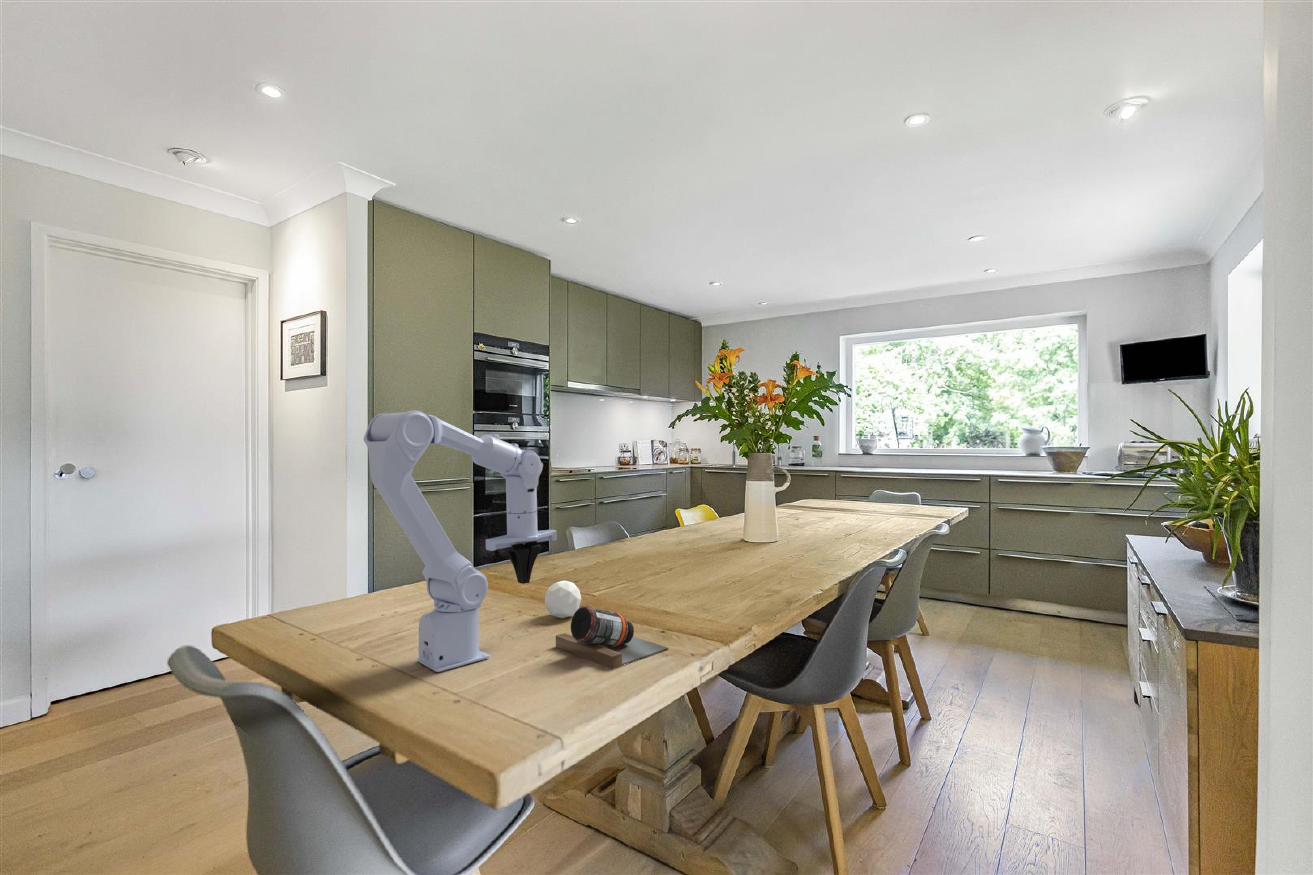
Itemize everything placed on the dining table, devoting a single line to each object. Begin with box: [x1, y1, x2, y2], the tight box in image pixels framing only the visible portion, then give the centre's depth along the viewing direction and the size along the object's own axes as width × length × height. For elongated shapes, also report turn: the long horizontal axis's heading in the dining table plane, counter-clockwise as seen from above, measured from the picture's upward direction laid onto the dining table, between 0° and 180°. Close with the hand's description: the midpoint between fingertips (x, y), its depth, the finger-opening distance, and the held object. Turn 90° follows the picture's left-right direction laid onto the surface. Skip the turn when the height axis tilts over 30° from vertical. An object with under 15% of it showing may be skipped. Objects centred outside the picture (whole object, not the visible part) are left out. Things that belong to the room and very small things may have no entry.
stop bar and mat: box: [555, 632, 669, 670], centre depth 107 cm, size 13×16×2 cm
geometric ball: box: [544, 580, 582, 619], centre depth 128 cm, size 8×8×8 cm
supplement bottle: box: [570, 606, 635, 647], centre depth 106 cm, size 6×6×11 cm
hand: (523, 582), depth 114 cm, fingers closed
